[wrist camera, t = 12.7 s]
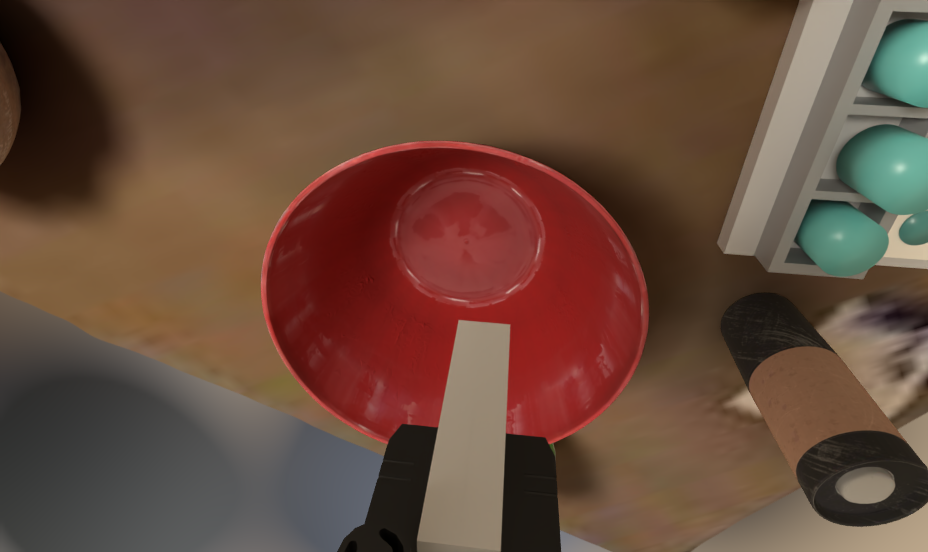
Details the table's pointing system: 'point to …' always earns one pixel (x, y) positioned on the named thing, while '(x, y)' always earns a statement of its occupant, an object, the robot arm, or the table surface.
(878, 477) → the travel mug
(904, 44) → the button
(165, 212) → the table surface
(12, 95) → the ceramic bowl
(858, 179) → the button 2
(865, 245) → the button
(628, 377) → the mixing bowl
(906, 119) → the button panel
